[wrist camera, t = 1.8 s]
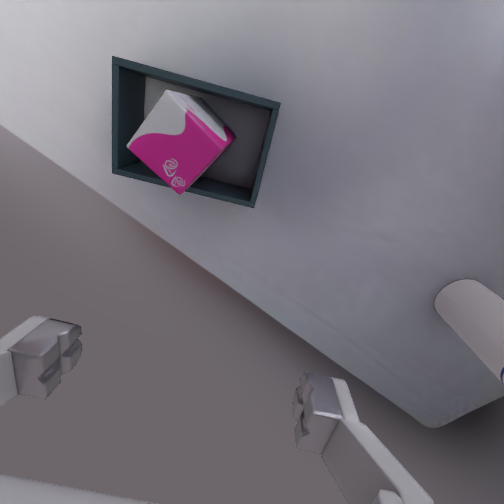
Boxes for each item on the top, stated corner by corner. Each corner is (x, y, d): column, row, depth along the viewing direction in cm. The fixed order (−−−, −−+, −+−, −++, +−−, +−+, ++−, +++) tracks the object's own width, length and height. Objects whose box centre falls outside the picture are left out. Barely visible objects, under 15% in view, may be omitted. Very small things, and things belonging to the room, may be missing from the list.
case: (136, 164, 32) (111, 173, 27) (140, 68, 28) (111, 55, 23) (255, 194, 34) (253, 208, 28) (277, 106, 29) (280, 103, 24)
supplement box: (168, 136, 31) (121, 144, 21) (200, 96, 29) (167, 82, 19) (205, 173, 33) (178, 197, 22) (238, 137, 31) (226, 145, 20)
